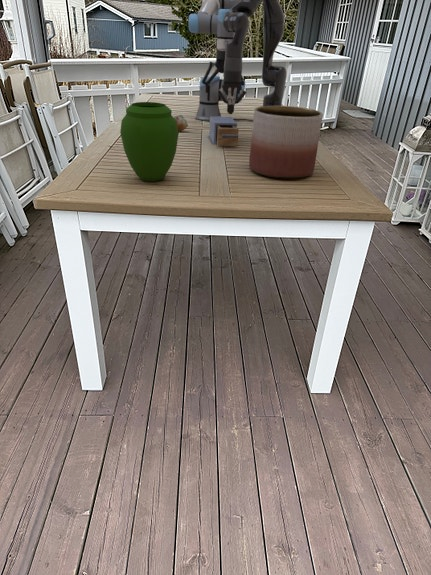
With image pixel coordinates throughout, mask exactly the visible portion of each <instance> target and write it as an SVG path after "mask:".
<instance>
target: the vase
mask: <svg viewBox="0 0 431 575" xmlns="http://www.w3.org/2000/svg"><path fill="white" fill-rule="evenodd" d="M125 113H126V114H125V115H124V117H122V119H121V122H120V123H121V124H120V130H119V133H120V138H121V142H122V147H123V150H124V154H125V155H126V158H127V160H128V163H129V165H130V167H131V168H132V170H133V172H134V173H135V175H136V176H137V177H138V178H139V179H141V180H143V181H145V182H159V181H161V180H163V179H164V178H165V176H166V175H167V174H168V173H169V170H170V169H171V167H172V165H173V162H174V159H175V157H176V156H175V155H176V153H177V147H178V140H179V131H178V128H177V123H176V120H175V119H174V116H173V115H172V109H171V108H170V107H169V106H167V105H166V104H164V103H162V102H155V101H138V102H132V103H131V104H130V105H128V107H127V108H125Z"/></svg>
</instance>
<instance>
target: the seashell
mask: <svg viewBox="0 0 431 575" xmlns="http://www.w3.org/2000/svg"><path fill="white" fill-rule="evenodd" d="M173 118H174V119H175V120H176V123H177V128H178V132H182V131H184V130H186V129H187V128H188V127H189V123H188V121H187V119H185V117H184V116H183V115H182V114H178V115H175V116H173Z"/></svg>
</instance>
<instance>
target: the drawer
mask: <svg viewBox="0 0 431 575" xmlns="http://www.w3.org/2000/svg"><path fill="white" fill-rule="evenodd" d="M239 131H240V128H239V127H237V128H235V127H234V126H233V125H217V126H216V141H217V144H216V145H217V147H238V144H239Z"/></svg>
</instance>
